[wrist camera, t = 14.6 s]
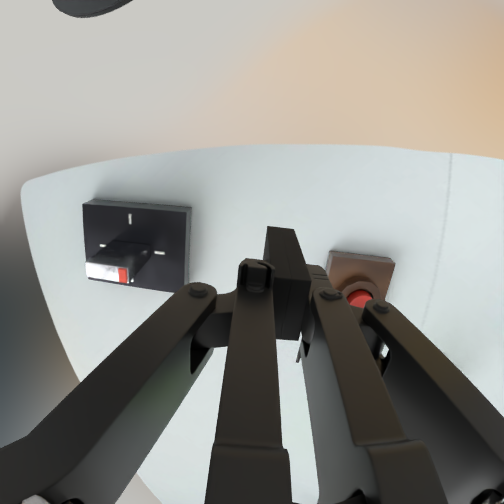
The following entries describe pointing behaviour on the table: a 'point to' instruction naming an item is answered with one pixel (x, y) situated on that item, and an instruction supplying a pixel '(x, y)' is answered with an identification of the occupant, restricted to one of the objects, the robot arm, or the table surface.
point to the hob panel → (143, 239)
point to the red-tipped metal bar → (118, 261)
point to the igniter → (359, 273)
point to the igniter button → (358, 298)
